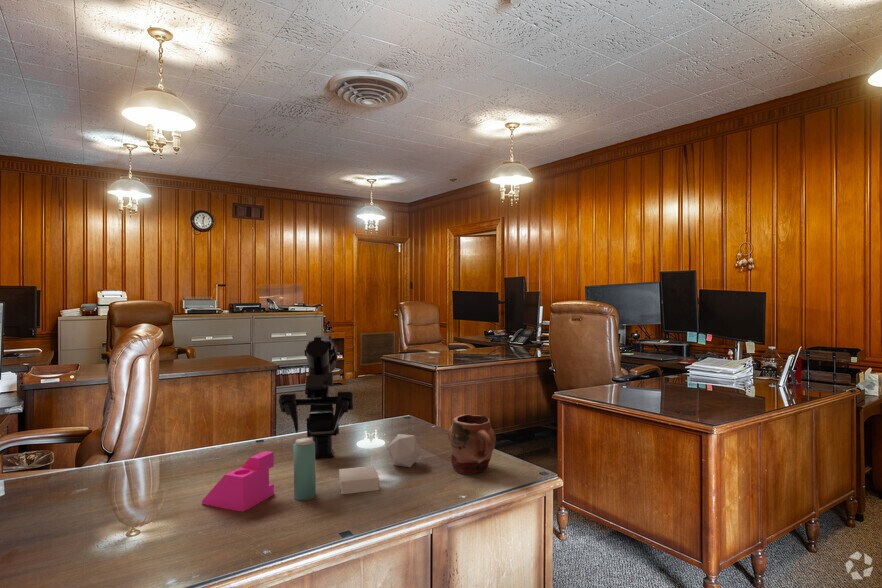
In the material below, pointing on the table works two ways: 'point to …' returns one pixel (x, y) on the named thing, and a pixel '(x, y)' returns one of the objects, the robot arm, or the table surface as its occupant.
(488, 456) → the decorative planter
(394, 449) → the die
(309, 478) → the thermos
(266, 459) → the bracket
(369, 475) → the block
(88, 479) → the table surface
